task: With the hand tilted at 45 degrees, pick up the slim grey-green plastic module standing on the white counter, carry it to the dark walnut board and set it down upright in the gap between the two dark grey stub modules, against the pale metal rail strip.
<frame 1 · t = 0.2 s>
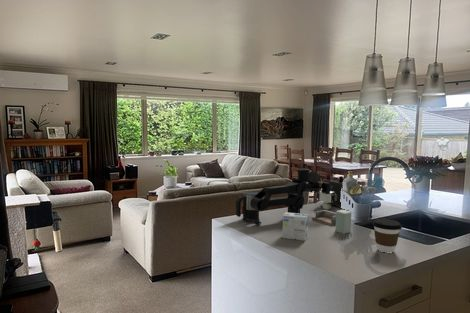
hand: (326, 185, 196), 17 cm above the worktop, tool horizontal, fingers open, 9 cm apart
light bulb box: (294, 238, 152), on the worktop
module: (342, 231, 161), on the worktop
rail board: (327, 221, 179), on the worktop
coffee cup: (385, 251, 136), on the worktop
pneumatic valve: (326, 209, 208), on the worktop
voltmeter: (340, 205, 218), on the worktop
milk frother: (252, 222, 177), on the worktop
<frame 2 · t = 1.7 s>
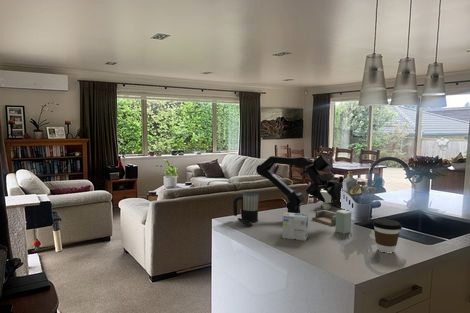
hand: (330, 201, 167), 14 cm above the worktop, tool tilted 45°, fingers open, 9 cm apart
milk frother: (248, 222, 175), on the worktop
everything else where it was.
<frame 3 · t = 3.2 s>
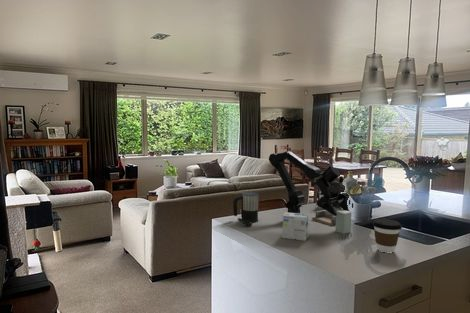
hand: (342, 214, 161), 8 cm above the worktop, tool tilted 45°, fingers open, 9 cm apart
nothing on the worktop moved.
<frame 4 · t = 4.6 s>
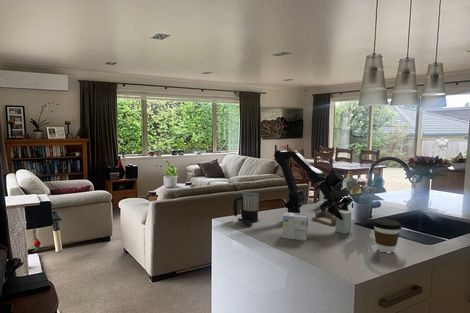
hand: (345, 218, 160), 7 cm above the worktop, tool tilted 45°, fingers closed on module, 5 cm apart
module: (342, 231, 161), on the worktop, touching gripper
everything else where it was.
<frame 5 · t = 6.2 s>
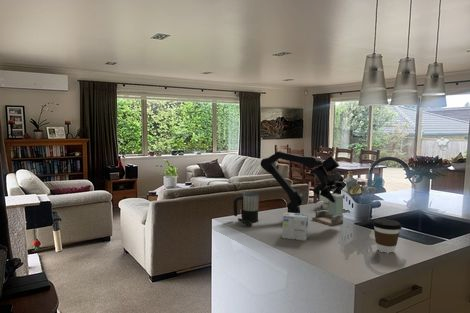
hand: (338, 201, 167), 13 cm above the worktop, tool tilted 45°, fingers closed on module, 5 cm apart
module: (335, 214, 168), point 7 cm above the worktop, touching gripper
everything else where it was.
when the fingers open (9 cm above the worktop, at t = 8.0 s): module drops 1 cm, resting on rail board.
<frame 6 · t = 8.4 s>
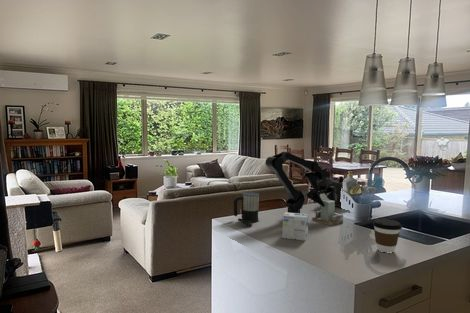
hand: (330, 205, 177), 9 cm above the worktop, tool tilted 45°, fingers open, 9 cm apart
module: (327, 218, 179), point 1 cm above the worktop, touching rail board
everything else where it was.
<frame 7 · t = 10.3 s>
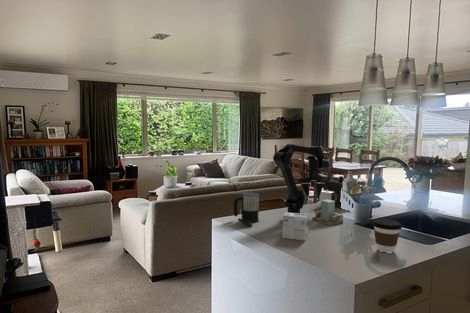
hand: (313, 195, 188), 12 cm above the worktop, tool pointing down, fingers open, 9 cm apart
nothing on the worktop moved.
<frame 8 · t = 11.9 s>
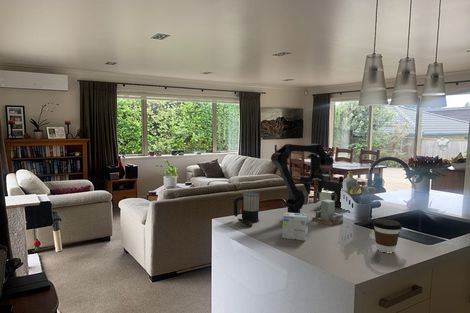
hand: (314, 193, 189), 13 cm above the worktop, tool pointing down, fingers open, 9 cm apart
nothing on the worktop moved.
at the end: module inside the target area on the rail board (0.2 cm from its centre), point 1.2 cm above the rail board's base; module tilted 0°; the gripper is holding nothing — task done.
